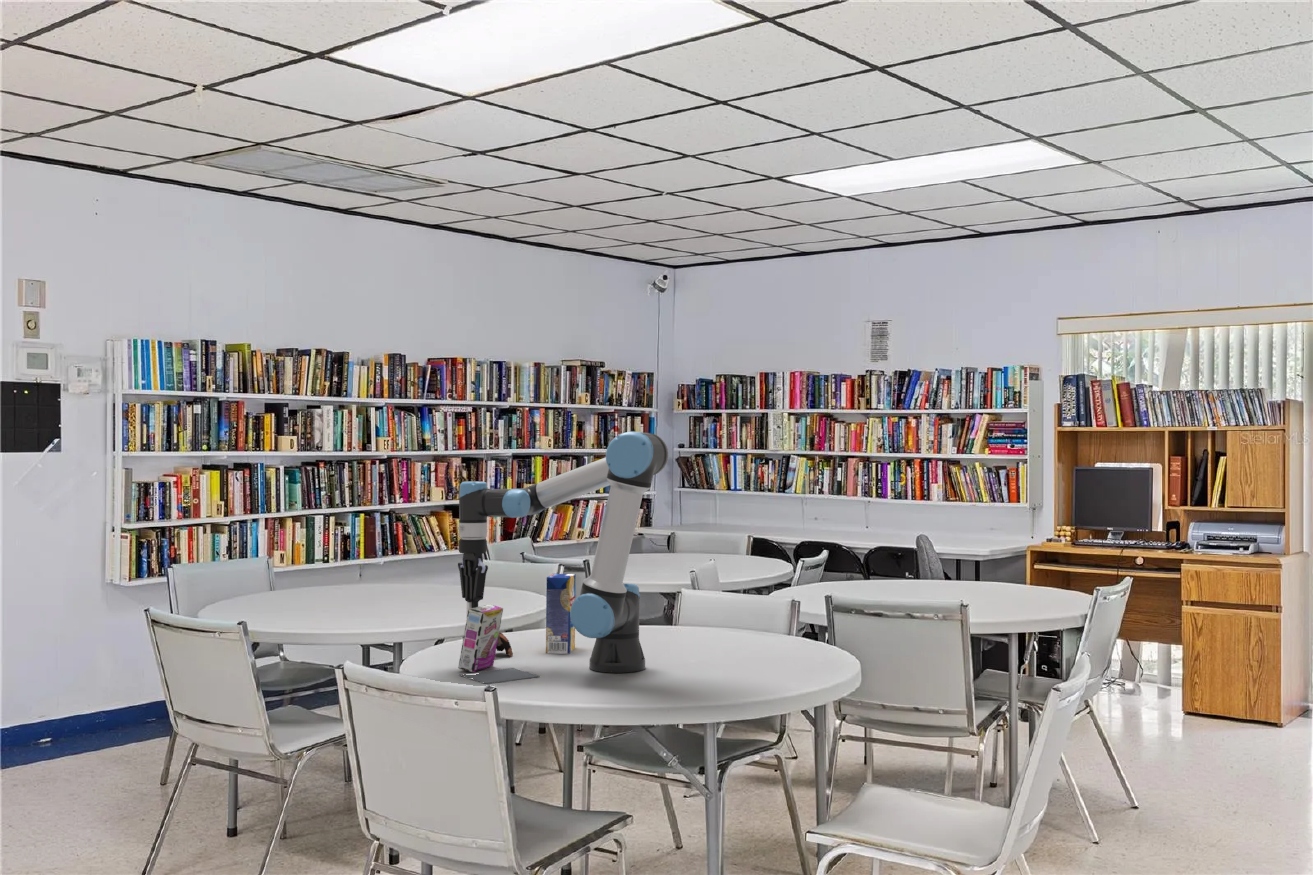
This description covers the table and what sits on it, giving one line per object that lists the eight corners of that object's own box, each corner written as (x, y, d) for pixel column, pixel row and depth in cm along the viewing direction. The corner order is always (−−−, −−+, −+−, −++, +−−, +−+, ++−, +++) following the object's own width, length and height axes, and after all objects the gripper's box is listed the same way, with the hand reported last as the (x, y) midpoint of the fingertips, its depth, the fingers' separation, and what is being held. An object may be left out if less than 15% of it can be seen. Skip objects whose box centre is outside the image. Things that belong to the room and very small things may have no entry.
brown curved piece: (512, 661, 320) (498, 636, 318) (483, 674, 321) (469, 650, 320) (519, 643, 332) (505, 619, 330) (491, 656, 333) (477, 633, 331)
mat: (540, 677, 294) (540, 675, 294) (485, 684, 284) (485, 683, 284) (512, 668, 305) (512, 667, 305) (459, 675, 295) (459, 674, 295)
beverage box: (574, 647, 340) (575, 574, 341) (569, 653, 329) (569, 577, 330) (552, 647, 341) (553, 573, 341) (545, 653, 330) (546, 577, 330)
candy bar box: (473, 673, 299) (483, 612, 298) (457, 669, 300) (467, 608, 300) (494, 666, 309) (504, 607, 308) (479, 662, 311) (488, 603, 310)
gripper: (449, 537, 310) (448, 624, 310) (471, 540, 300) (471, 629, 300) (473, 536, 315) (473, 621, 314) (496, 539, 305) (496, 627, 304)
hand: (472, 625), depth 307 cm, fingers closed
